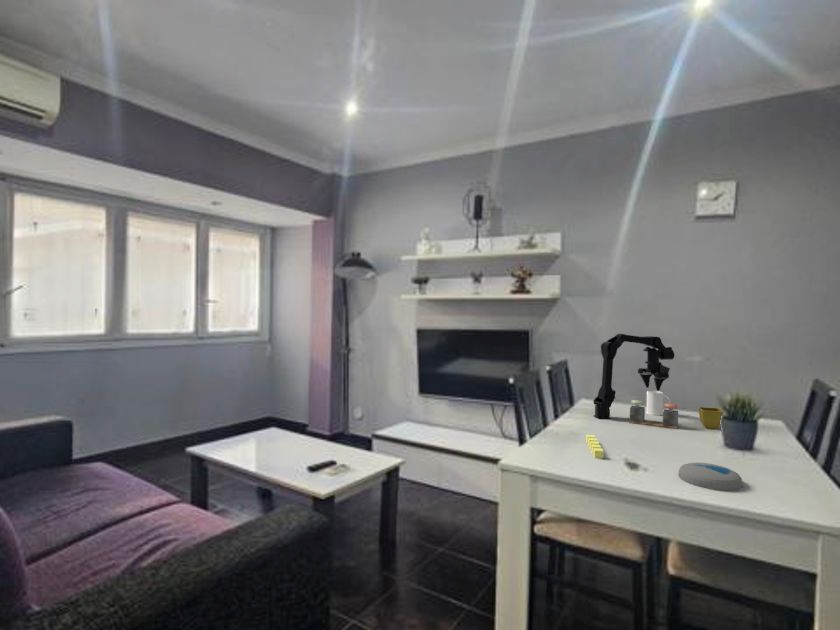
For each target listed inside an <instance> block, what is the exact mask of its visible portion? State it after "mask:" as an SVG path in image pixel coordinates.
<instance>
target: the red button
mask: <svg viewBox="0 0 840 630" xmlns="http://www.w3.org/2000/svg"><path fill="white" fill-rule="evenodd" d="M663 407H665V408H666V409H668V410H669V412H673V410H676V409H678V404H676V403H671V402H670V403H669V402H666V403H663Z"/></svg>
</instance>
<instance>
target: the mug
mask: <svg viewBox="0 0 840 630" xmlns="http://www.w3.org/2000/svg"><path fill="white" fill-rule="evenodd" d="M664 398H666V399H668V403H671V400H670V398H669V397H668V396H667V395H666V394H664V392H663V391H660V390H659V391H657V390H647V391H646V410H645V414H647V415H650V416H657V417H658V416H660V415H661V416H663V411H664V409H665V410H667V408H665V407H664Z"/></svg>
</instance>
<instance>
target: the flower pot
mask: <svg viewBox="0 0 840 630" xmlns="http://www.w3.org/2000/svg"><path fill="white" fill-rule="evenodd" d="M722 415H724V411H723V410H721V409H720V408H719V407H704V406H698V416H699V420H700V423H701V424H702V426H704V428H705V429H717V430H718V429H719V427H720V426H721V425H720V420H721V416H722Z"/></svg>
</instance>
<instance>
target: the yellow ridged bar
mask: <svg viewBox="0 0 840 630" xmlns="http://www.w3.org/2000/svg"><path fill="white" fill-rule="evenodd" d="M585 438H586V439H585V441H586V444H587V446H588V448H589V451H591V454H592V456H593V458H594V457H595V458H594V459H601V458H603V459H604V449H603V448H602V446H601V444H600V443H599V441H598V439H597V438H596V436H595V434H593V435H592V434H586V436H585Z"/></svg>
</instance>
